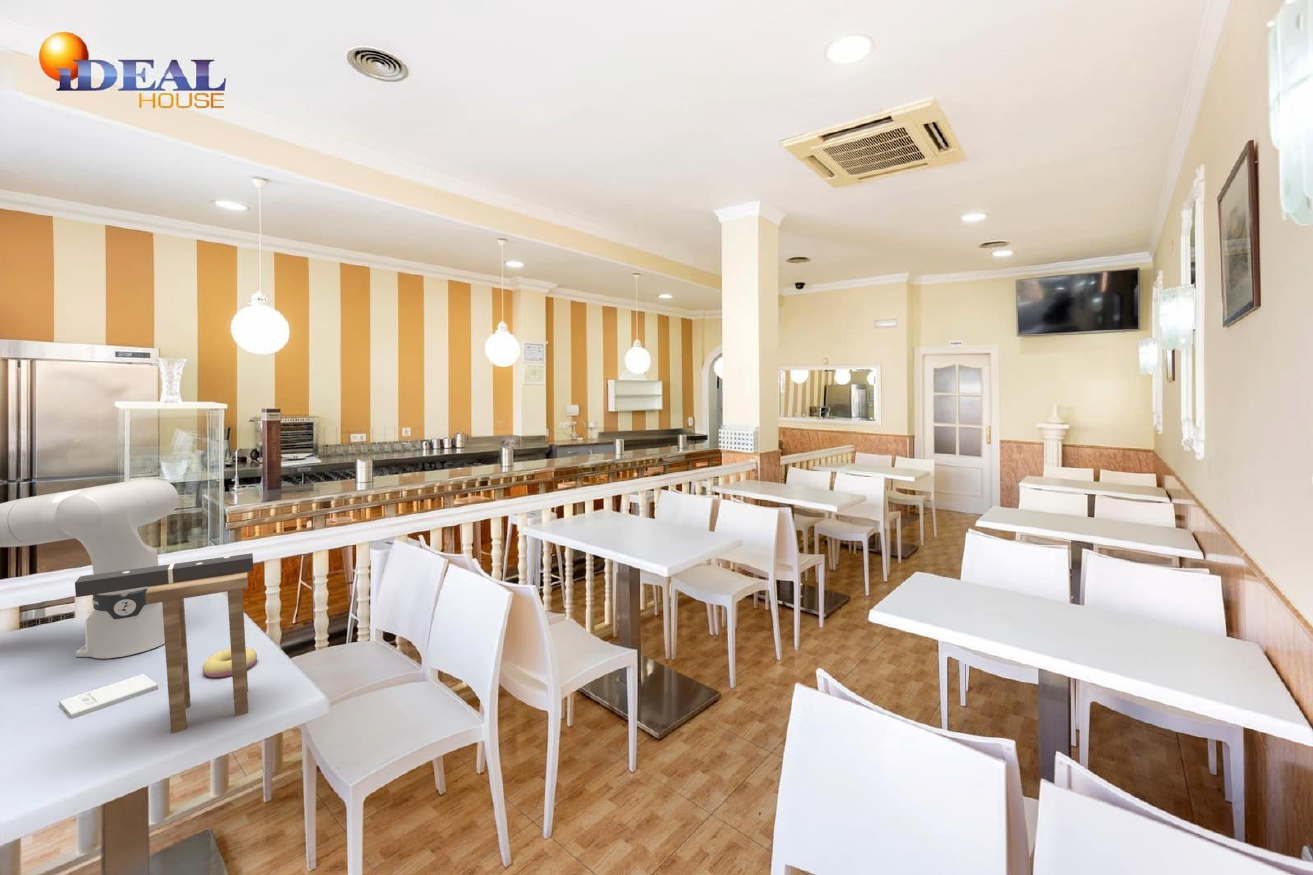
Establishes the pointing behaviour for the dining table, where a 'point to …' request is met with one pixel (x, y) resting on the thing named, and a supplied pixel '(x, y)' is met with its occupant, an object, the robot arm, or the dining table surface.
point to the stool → (177, 640)
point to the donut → (225, 663)
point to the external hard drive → (107, 695)
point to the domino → (162, 574)
